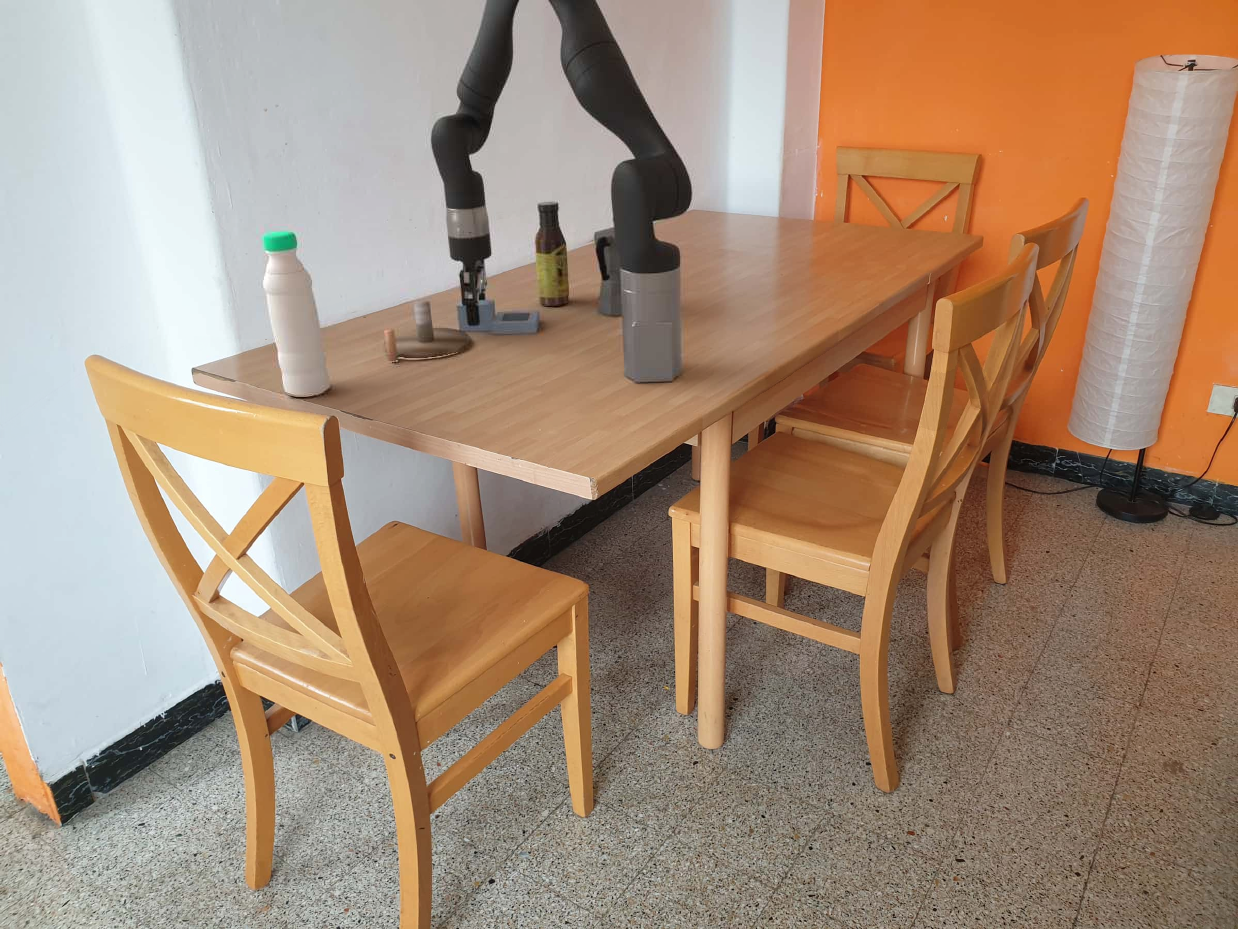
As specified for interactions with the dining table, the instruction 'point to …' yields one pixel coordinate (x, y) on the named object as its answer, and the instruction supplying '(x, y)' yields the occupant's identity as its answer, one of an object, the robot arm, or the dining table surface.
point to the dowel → (391, 345)
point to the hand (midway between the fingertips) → (477, 318)
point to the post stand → (428, 337)
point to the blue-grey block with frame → (499, 319)
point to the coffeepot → (609, 273)
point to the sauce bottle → (551, 257)
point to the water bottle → (294, 317)
